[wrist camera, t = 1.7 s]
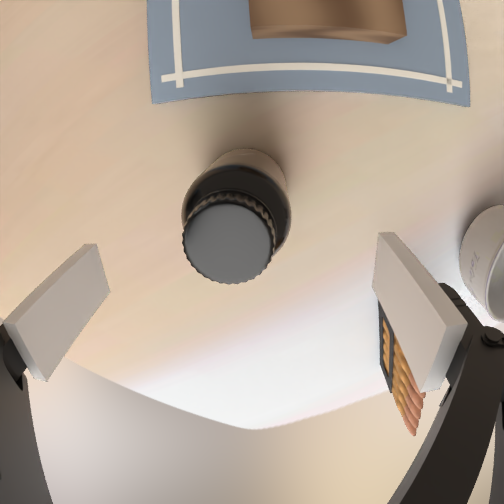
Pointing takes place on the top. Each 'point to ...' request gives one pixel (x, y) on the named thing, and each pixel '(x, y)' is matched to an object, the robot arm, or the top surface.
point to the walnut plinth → (328, 19)
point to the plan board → (302, 55)
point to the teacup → (485, 260)
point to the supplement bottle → (236, 216)
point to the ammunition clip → (399, 375)
